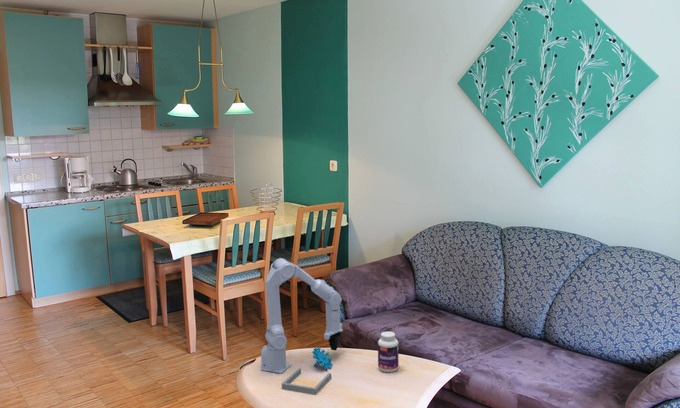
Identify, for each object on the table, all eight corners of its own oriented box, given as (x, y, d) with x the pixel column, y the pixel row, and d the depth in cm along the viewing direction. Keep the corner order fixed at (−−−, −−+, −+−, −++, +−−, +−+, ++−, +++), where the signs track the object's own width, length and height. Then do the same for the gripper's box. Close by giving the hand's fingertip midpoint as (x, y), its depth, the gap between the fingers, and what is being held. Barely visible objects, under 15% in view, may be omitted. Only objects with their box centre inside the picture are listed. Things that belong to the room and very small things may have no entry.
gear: (326, 370, 231) (310, 349, 234) (316, 379, 233) (301, 358, 236) (338, 362, 241) (323, 343, 244) (328, 371, 243) (313, 351, 246)
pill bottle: (377, 372, 231) (376, 337, 229) (378, 364, 239) (378, 330, 237) (398, 373, 230) (397, 338, 228) (399, 364, 238) (398, 330, 236)
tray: (281, 388, 221) (281, 383, 220) (298, 372, 233) (298, 368, 233) (316, 394, 215) (315, 389, 215) (331, 378, 228) (331, 373, 228)
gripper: (335, 325, 237) (336, 357, 239) (348, 313, 250) (349, 344, 253) (318, 323, 240) (320, 355, 242) (333, 311, 253) (334, 342, 255)
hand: (334, 349), depth 248 cm, fingers closed
